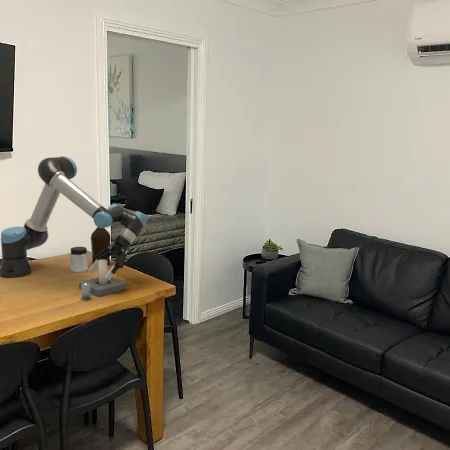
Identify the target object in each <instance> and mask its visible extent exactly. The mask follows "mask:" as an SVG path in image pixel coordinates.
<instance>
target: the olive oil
mask: <svg viewBox="0 0 450 450" xmlns="http://www.w3.org/2000/svg"><path fill="white" fill-rule="evenodd" d="M111 238H112V237H111V234H110V232H109V231H108V230H107V229H106V228H99V227H97V226H96V228H95V229H94V231H92V233H91V235H90V245H91V259H92V260H91V261H92V264H91V265H93V263H94V262H95V260H96V258H95V256H96V255H97V254H98V253H99V252H101V251H102V250H103V249H104V248H106V247H107V246H108V244H111ZM106 260H107V266H110V264H111V263H110V261H111V256H109V257H108V258H106Z"/></svg>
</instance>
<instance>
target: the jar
mask: <svg viewBox="0 0 450 450" xmlns="http://www.w3.org/2000/svg"><path fill="white" fill-rule="evenodd" d="M88 255H89V254H88V249H87V247H86V246H73V247H71V248H70V253H69V267H70V271H71V272H73V273H84V272H86V271H88V270H89V266H88V264H89V262H88V258H89V257H88Z"/></svg>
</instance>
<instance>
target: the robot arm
mask: <svg viewBox="0 0 450 450" xmlns="http://www.w3.org/2000/svg"><path fill="white" fill-rule="evenodd" d="M77 173H78V167H77V164H76V162H75V161H74V159H72V158H71V157H67V156H58V157H57V156H56V157H46V158H44V159H42V160H40V162H39V164H38V167H37V174H38V176H39V178H40V179H41V180H42V182H43V183H44V186H43V188H42V190H41V193H40V194H39V197H38V199H37V202H36V204H35V207H34V209H33V211H32V214H31V217H30V218H29V219H26V221H25V223H24V225H23V226H12V227H7V228H5V229H3V230H2V231H1V233H0V234H1V236H0V242H1V243H0V245H1V259H2V260H1V262H0V275H1V276H0V277H2V276H4V277H3V278H19V277H25V276H28V275H31V273H32V267H31V263H30V261H29V259H28V255H27V254H28V250H32V249H35V248H39V247H40V246H42V245H44V244H45V243H46V242H47V241H48V239H49V231H48V230H49V227H48V225H47V224H48V222H49V220H50V217H51V215H52V212H53V211H54V208H55V206H56V204H57V201H58V199H59V197H60V194H62V195H63V196H64V197H66V198H67V200H69V201H70V202H72V203H73V204H74V205H76V206H77V207H78V208H79V209H80V210H82V211H83V212H84V213H85V214H87V215H88V216H89V217H90V218H92V219H93V223H94V225H95V226H96V228H97V227H99V228H105V229H106V228H109V227H111V226H114V225H117V224H119V225H122V226H123V228H122V230H121V231H120V232H119V233H118V235H117V236H116V238H115V239H114V240H113V245H112V244H111V243H110V244H108V246H107V247H106V248H104V249H103V250H102V251H101V252H99V253H98V254H97V255H96V256H95V258H96V260H95V262H94V263H93V264H91V266H90V268H88V270H87V271H88V272H90V274H94V273H95V272H96V271H97V270H98V269H99V267H98V260H100V259H106V258H108V257H109V256H110V257H112V256H113V257H115V259H114V260H115V261H114V264H113V265H112V266H111V267H110V269H109V270H108V271H107V275H106V276H105V277H106V278H107V279H108V280H110V279H111V277H113V276H114V275H115V274H116V272H117V271H118V270H120V269H123V268H124V266H125V262H126V259H127V256H128V254H129V250H128V249H129V247H131V244H132V243H133V242H134V240H135V239H136V238H137V237H138V235H139V234H140V232H141V231H142V230H143V228H145V226H146V224H147V222H148V217H147V215H145V214H144V213H142V212H141V211H138V210H137V211H135V212H134V213H133V212H131V211H129V210H127V209H125V208H124V207H122V206H120V205H118V204H116V203H112V204H110V205H109V206H108V208H106V207H105V206H103V205H102V204H100V202H99V201H97V200H95V198H93V197H92V196H90V195H89V194H88V193H87V192H86V191H84V190H83V189H82V188H81V187H79V186H78V185H77V184H76V183H75V182H73V181H72V180H71V179H73V178H75V177H76V175H77Z"/></svg>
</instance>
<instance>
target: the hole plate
mask: <svg viewBox="0 0 450 450" xmlns="http://www.w3.org/2000/svg"><path fill="white" fill-rule="evenodd" d="M83 282H90V285H91V295H92V296H93V295H94V296H95V297H97V298H99V297H103V296H106V295H110V294H114V293H117V291H118V292H122V291H125V290H128V283H127V282H125V281H123V280H120V279H117V278H115V277H113V276H112V277H111V279H110V280H108V279H107V284H105V285H99V277H96V278H91V279H88V280H83V281H78V288H79V289H80V290H81V283H83ZM124 289H125V290H124ZM121 290H122V291H121Z"/></svg>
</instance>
